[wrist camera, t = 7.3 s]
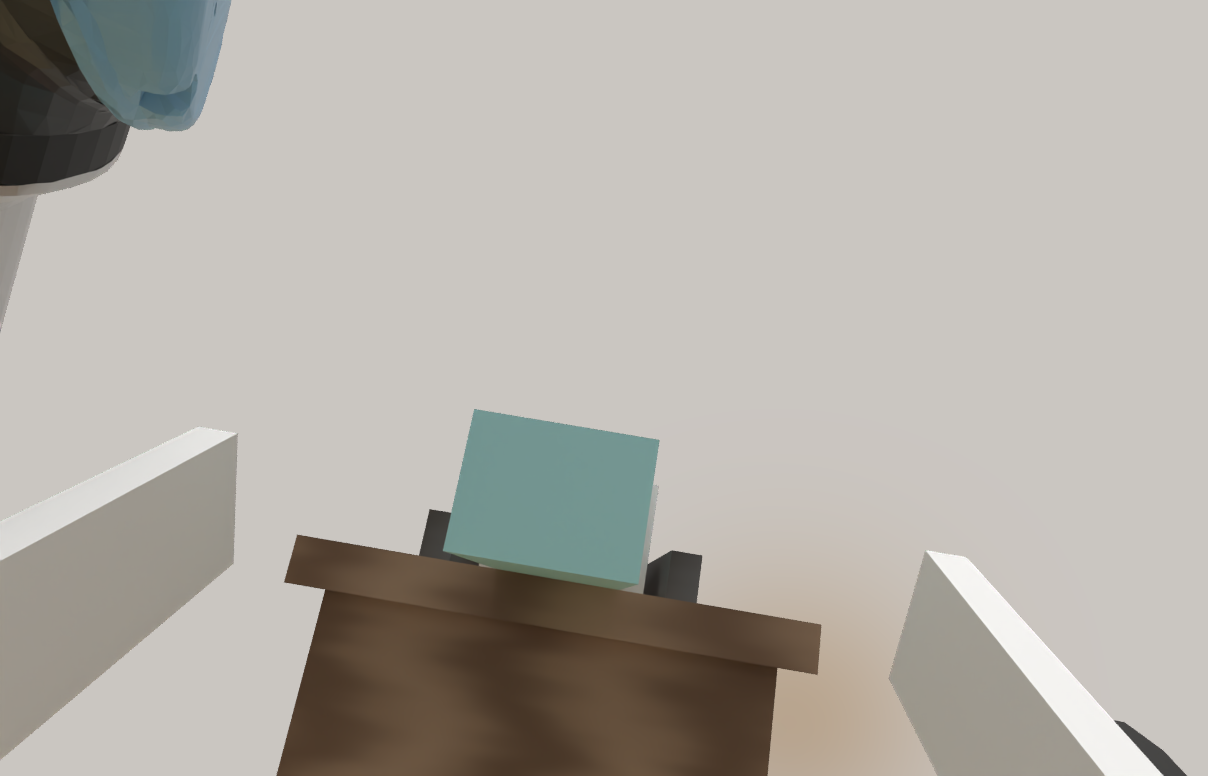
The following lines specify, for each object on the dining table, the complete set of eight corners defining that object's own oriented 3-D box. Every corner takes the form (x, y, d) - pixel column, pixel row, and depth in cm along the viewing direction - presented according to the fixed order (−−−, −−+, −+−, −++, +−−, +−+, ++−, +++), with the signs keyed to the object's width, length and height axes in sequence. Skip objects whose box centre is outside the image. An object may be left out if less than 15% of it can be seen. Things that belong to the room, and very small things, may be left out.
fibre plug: (394, 542, 15) (439, 358, 16) (508, 576, 37) (524, 498, 38) (687, 592, 15) (711, 402, 16) (626, 596, 37) (638, 517, 38)
